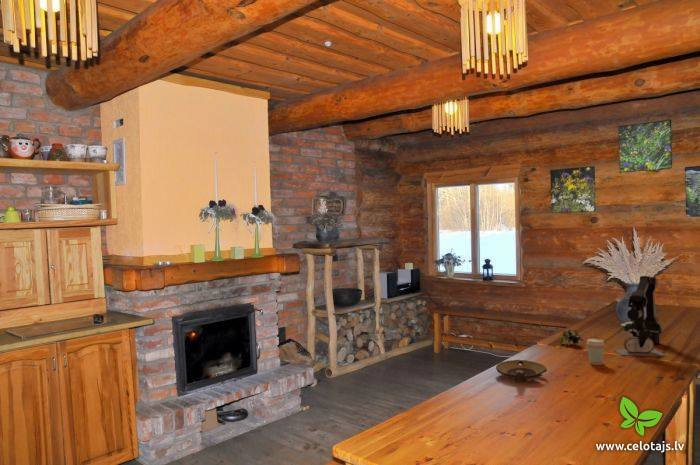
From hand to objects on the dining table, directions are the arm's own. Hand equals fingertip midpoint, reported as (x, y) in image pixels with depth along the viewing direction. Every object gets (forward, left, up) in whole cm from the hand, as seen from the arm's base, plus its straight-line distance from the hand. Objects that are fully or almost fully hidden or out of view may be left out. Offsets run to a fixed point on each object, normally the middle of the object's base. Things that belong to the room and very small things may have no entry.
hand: (638, 345), depth 283 cm
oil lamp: (+72, +52, -4) cm, 88 cm away
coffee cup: (+29, +23, -4) cm, 37 cm away
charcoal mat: (0, 0, -4) cm, 4 cm away
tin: (0, 0, -4) cm, 4 cm away
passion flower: (+31, -17, -4) cm, 36 cm away
